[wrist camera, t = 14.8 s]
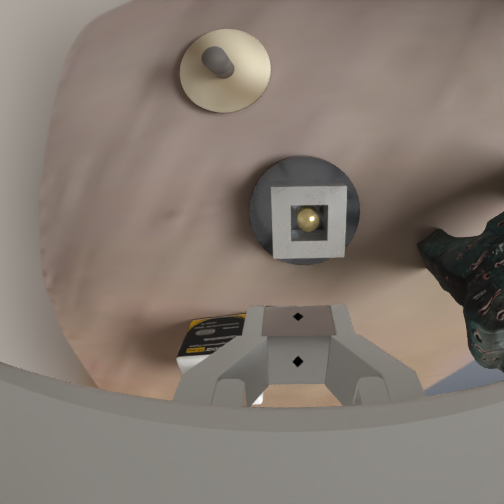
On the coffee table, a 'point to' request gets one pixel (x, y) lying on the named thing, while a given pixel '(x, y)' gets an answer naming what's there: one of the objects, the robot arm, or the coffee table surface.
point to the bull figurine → (474, 284)
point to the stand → (225, 70)
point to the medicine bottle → (209, 340)
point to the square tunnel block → (315, 241)
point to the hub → (300, 214)
